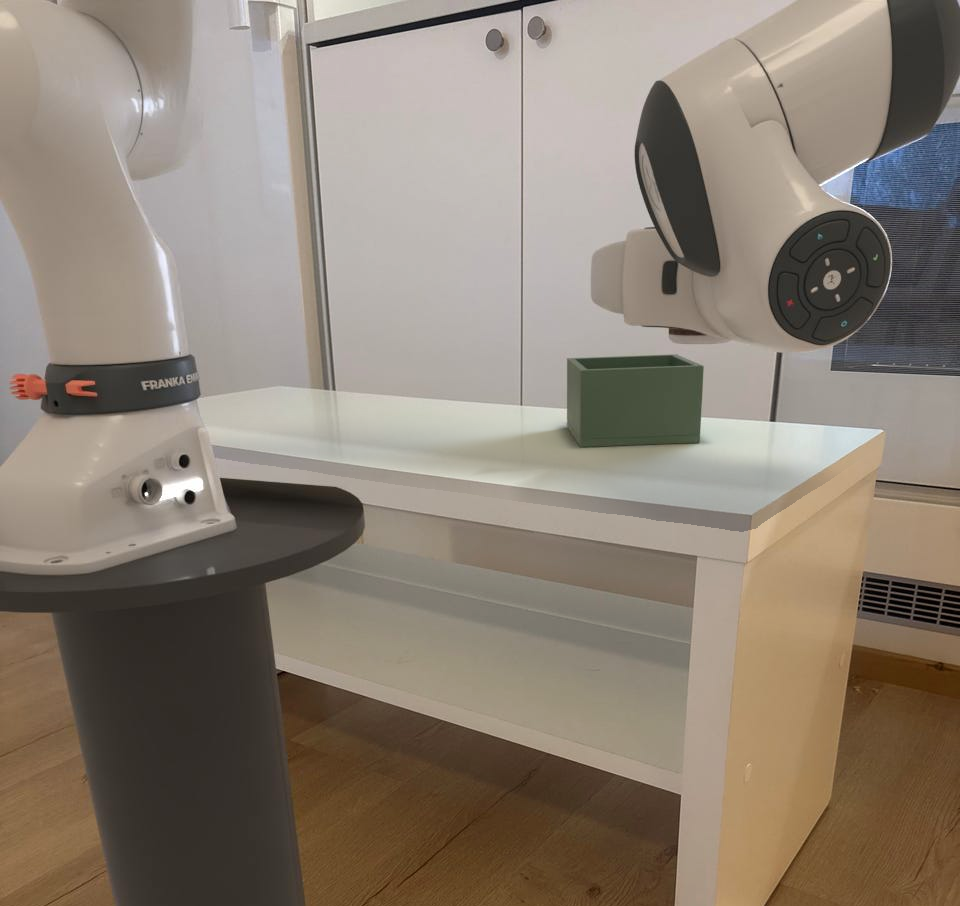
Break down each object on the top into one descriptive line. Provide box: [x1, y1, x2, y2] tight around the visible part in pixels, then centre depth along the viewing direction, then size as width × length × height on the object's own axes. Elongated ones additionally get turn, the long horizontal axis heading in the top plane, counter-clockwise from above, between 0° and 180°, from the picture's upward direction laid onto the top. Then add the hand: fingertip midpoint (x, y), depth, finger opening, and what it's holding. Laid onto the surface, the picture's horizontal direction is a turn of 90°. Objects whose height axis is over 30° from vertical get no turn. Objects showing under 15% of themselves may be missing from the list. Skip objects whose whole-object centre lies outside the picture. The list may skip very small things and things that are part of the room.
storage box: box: [566, 353, 705, 448], centre depth 103 cm, size 13×13×8 cm
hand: (701, 273), depth 79 cm, fingers closed on supplement bottle, 5 cm apart
